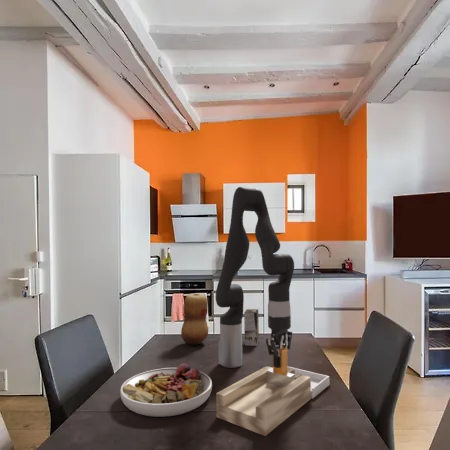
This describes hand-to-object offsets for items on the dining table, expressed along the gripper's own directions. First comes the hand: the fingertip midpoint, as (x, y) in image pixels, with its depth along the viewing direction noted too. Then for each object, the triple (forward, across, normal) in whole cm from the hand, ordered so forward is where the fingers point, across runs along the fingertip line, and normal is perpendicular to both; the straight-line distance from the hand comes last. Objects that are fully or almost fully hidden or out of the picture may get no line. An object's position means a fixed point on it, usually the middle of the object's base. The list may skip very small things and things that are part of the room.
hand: (280, 365), depth 121 cm
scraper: (+6, 0, 0) cm, 6 cm away
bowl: (+11, +24, -30) cm, 39 cm away
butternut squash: (+11, -26, -64) cm, 70 cm away
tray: (+10, -12, 0) cm, 16 cm away
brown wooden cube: (+6, -4, 0) cm, 7 cm away
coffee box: (+11, -44, -42) cm, 62 cm away
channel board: (+10, +9, 0) cm, 14 cm away
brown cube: (+8, -7, 0) cm, 10 cm away
